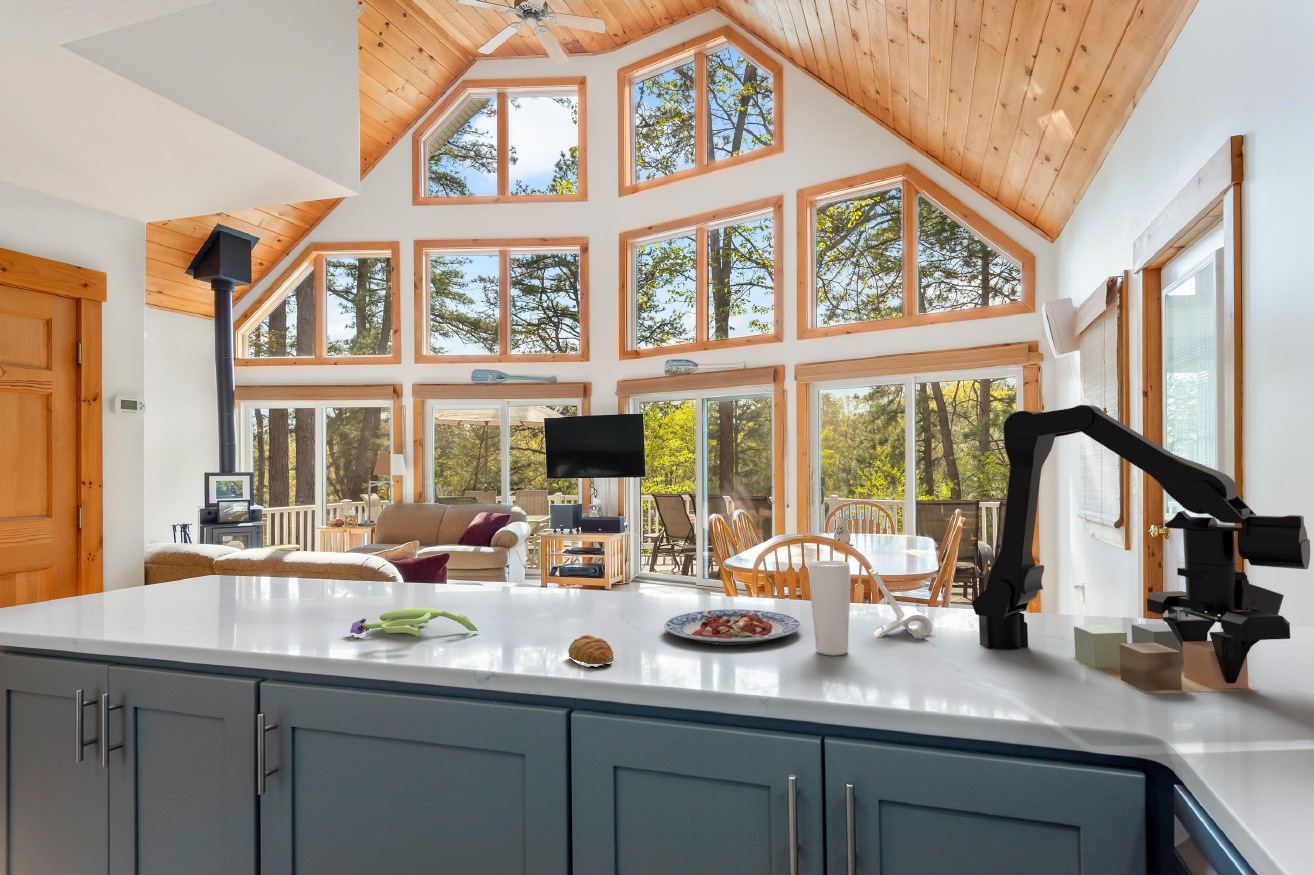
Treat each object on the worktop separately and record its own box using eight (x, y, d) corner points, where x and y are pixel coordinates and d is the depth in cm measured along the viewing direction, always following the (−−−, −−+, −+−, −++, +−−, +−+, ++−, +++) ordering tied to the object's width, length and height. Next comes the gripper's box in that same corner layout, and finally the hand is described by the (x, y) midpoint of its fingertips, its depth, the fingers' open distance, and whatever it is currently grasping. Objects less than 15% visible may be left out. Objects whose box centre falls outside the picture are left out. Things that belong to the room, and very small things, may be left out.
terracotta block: (1211, 688, 99) (1209, 650, 99) (1184, 677, 104) (1182, 641, 104) (1248, 687, 99) (1246, 649, 99) (1219, 676, 104) (1217, 640, 104)
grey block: (1155, 665, 110) (1153, 631, 110) (1132, 656, 115) (1131, 624, 115) (1188, 664, 110) (1186, 630, 110) (1164, 655, 115) (1163, 623, 115)
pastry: (624, 666, 121) (623, 642, 121) (585, 673, 118) (585, 649, 118) (600, 653, 129) (599, 631, 129) (564, 660, 126) (563, 637, 126)
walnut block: (1144, 690, 99) (1143, 653, 99) (1120, 679, 104) (1119, 643, 104) (1182, 689, 99) (1180, 651, 99) (1156, 678, 104) (1154, 642, 104)
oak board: (1146, 699, 98) (1146, 693, 98) (1068, 662, 116) (1068, 657, 116) (1258, 695, 98) (1258, 689, 98) (1163, 659, 116) (1163, 654, 116)
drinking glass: (854, 658, 121) (850, 566, 122) (811, 657, 123) (808, 566, 123) (851, 647, 128) (848, 560, 128) (811, 647, 129) (808, 560, 130)
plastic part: (932, 639, 133) (930, 573, 134) (875, 638, 135) (873, 573, 135) (922, 629, 141) (921, 567, 141) (869, 628, 142) (867, 567, 142)
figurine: (396, 659, 130) (396, 626, 130) (335, 636, 149) (334, 608, 149) (487, 638, 143) (487, 609, 144) (420, 620, 162) (420, 594, 162)
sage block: (1094, 667, 110) (1093, 633, 110) (1075, 658, 115) (1073, 626, 115) (1128, 666, 110) (1126, 632, 110) (1107, 657, 115) (1105, 625, 115)
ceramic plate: (672, 619, 156) (672, 605, 156) (797, 620, 152) (797, 605, 152) (655, 651, 130) (654, 634, 130) (805, 653, 126) (804, 635, 127)
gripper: (1330, 571, 93) (1336, 697, 92) (1215, 552, 112) (1220, 657, 111) (1242, 573, 93) (1248, 700, 92) (1142, 554, 111) (1147, 659, 111)
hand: (1215, 677), depth 102 cm, fingers closed on terracotta block, 5 cm apart
